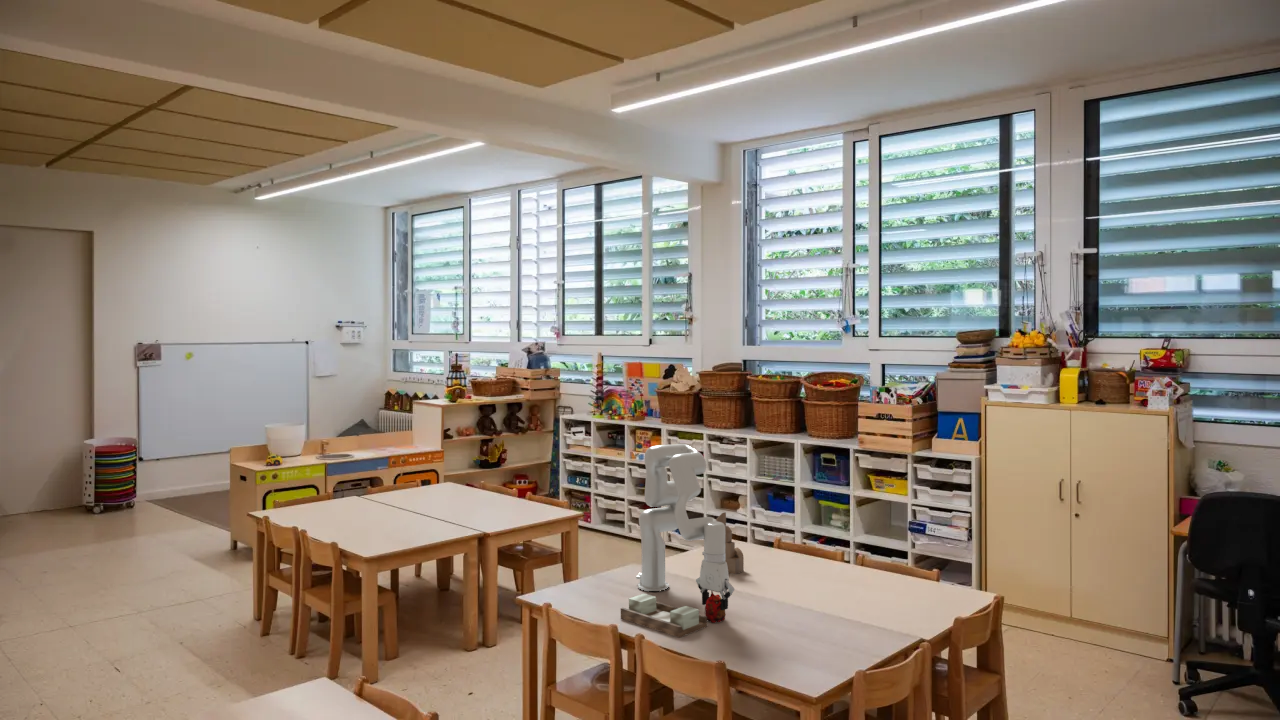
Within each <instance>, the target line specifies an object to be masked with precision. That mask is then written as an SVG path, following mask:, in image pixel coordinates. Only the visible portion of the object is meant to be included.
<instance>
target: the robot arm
mask: <svg viewBox="0 0 1280 720" xmlns="http://www.w3.org/2000/svg"><path fill="white" fill-rule="evenodd" d="M644 464H645V487H644V501H645V504H646V505H647V506H649V507H651V508H648V509H645V510H643V511H642V512H640V514H639V516H638V525H639V530H640V538H641V572H639V573H637V575H636V576H635V579H636V580H639V583H638V584H637V588H638V589H639V590H640V589H641V590H640V591H643V590H644V591H643V592H649V591H659V592H661V591H660V590H664V591H666V590H665V589H667V588H668V587H669V588H670V583H669V582H667V581H666V543H665V539H664V538H663V537H662V536H661V533H664V532H671V531H675V530H677V529H678V531H679V533H680V536H681V537H682V538H683V539H684V540H685V541H689V542H690V541H691V542H692V541H697V540H703V551H702V554H701V555H702V556H703V559H702V560H701V565H700V572H699V577H698V578H696V579H695V582H696V584H697V588H699V591H700V594H701V605H703V606H706V601H707V599H708V598H709V597H710V592H709V591H712V592H713V593H714V592H715V593H719V595H720V597H721V610H725V611H726V610H727V609H728V608H729V598H730V597H731V596H732V595H733V593H734V592H735V587H734V586H733V585H732V584H731V583H730V581H729V580H730V577H729V576H730V575H729V572H728V567H727V562H725V525H724V524H723V523H722V522H717V521H716V519H715V518H714V517H712V516H703V517H695V518H690V519H689V516H688V513H687V507H686V506H687V503H688V502H690V501H691V500H693V499H695V498H696V497H698V496H699V495H700V494H701V491H702V488H701V485H700V482H699V480H698V477H697V476H698V475H702V474H704V473H705V472H706V470H707V461H706V459H705V456H704V455H703V454H702V453H701V452H700V451H699V450H697V449H695V448H694V447H692V446H690V445H689V444H686V443H675V444H672V443H671V444H658V445H657V444H656V445H653V446H650V447H648V448H647V449H646V451H645V452H644ZM666 467H668V468H669V470H670V474H671V476H672V479H673V480H668V471H667V468H666ZM652 507H653V508H652ZM654 507H655V508H654ZM656 507H657V508H656ZM669 588H668V589H669ZM668 589H667V590H668Z"/></svg>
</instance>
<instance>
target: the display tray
mask: <svg viewBox="0 0 1280 720" xmlns="http://www.w3.org/2000/svg"><path fill="white" fill-rule="evenodd" d="M620 619H623V620H626V621H629V622H631V623H635V624H637V625H640V626H643V627H647V628H649V629H652V630H656V631H658V632H661V633H664V634H666V635H667V634H668V635H670V636H673V637H677V638H682V637H684V636H687V635H690V634H693V633H694V632H697V631H700V630H702V629H705V628H706V627H708V620H707V616H706V615H703V614H701V613H700V610H699V609H698V608H695V607H692V606H688V605H684V606H681V607H678V606H677V607H676V606H673V605H669V604H666V603H663V602H660V601H657V596H655V595H651V594H647V593H641V594H639V595H635V596H632V597H629V598H628V608H625V607H621V608H620Z"/></svg>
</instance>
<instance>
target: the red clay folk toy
mask: <svg viewBox="0 0 1280 720" xmlns="http://www.w3.org/2000/svg"><path fill="white" fill-rule="evenodd" d="M710 591H711V590H710ZM721 599H722V596H721V594H714V591H711V594H709V598H708V599H707V601H706V604H705V605H704V606H705V607H704V614H705V615H704V616H707V622H709V623H712V624H717V623H721V622H724V621H725V620H726V609H725V610H721Z"/></svg>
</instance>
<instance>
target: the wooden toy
mask: <svg viewBox="0 0 1280 720" xmlns="http://www.w3.org/2000/svg"><path fill="white" fill-rule="evenodd" d="M715 520H716V521H717V522H722V523H723V524H724V525H725V562H727V567H728V574H732V575H737V574H740V573H742V572H744V565H745V564H744V562H745V561H744V560H745V559H744V553H743V551H742V550H741V549H740V548H739V547H736V545H735V543H736V542H734V541H732V540H733V538H732V537H733V533H732V532H733V531H732V529H731V528H730V527H729V525H727V513H726V512H722V513H721V514H720V515H719V516H718V517H717V518H716V519H715Z"/></svg>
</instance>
